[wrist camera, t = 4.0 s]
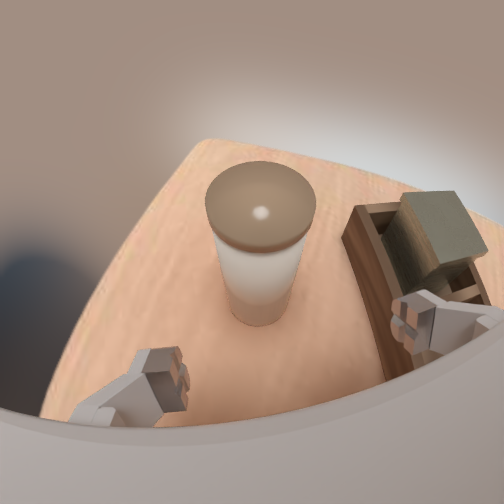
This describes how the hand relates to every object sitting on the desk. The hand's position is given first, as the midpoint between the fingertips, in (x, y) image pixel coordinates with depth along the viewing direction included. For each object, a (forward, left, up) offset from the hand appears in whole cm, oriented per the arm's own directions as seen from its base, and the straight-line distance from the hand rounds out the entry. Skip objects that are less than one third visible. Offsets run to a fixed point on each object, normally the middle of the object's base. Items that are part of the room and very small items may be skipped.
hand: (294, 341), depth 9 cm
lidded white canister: (0, +7, -13) cm, 15 cm away
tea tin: (+15, +7, -12) cm, 20 cm away
